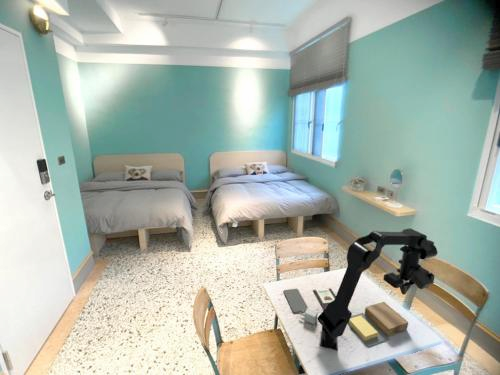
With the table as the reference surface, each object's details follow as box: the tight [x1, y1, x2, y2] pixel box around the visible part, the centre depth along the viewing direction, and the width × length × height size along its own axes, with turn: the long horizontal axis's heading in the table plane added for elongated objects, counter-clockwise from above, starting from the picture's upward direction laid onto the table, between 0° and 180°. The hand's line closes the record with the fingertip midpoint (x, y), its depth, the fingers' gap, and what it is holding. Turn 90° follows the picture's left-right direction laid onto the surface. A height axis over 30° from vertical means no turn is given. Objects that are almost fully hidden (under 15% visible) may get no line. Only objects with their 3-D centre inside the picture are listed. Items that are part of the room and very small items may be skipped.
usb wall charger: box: [298, 307, 319, 326], centre depth 106 cm, size 4×7×4 cm, turn 59°
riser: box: [364, 301, 409, 338], centre depth 104 cm, size 10×12×4 cm
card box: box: [349, 315, 378, 342], centre depth 101 cm, size 6×9×2 cm, turn 20°
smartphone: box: [283, 288, 309, 314], centre depth 117 cm, size 8×1×15 cm
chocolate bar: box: [312, 287, 336, 311], centre depth 115 cm, size 9×1×18 cm
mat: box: [347, 312, 390, 348], centre depth 101 cm, size 10×14×1 cm
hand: (403, 293), depth 104 cm, fingers closed
